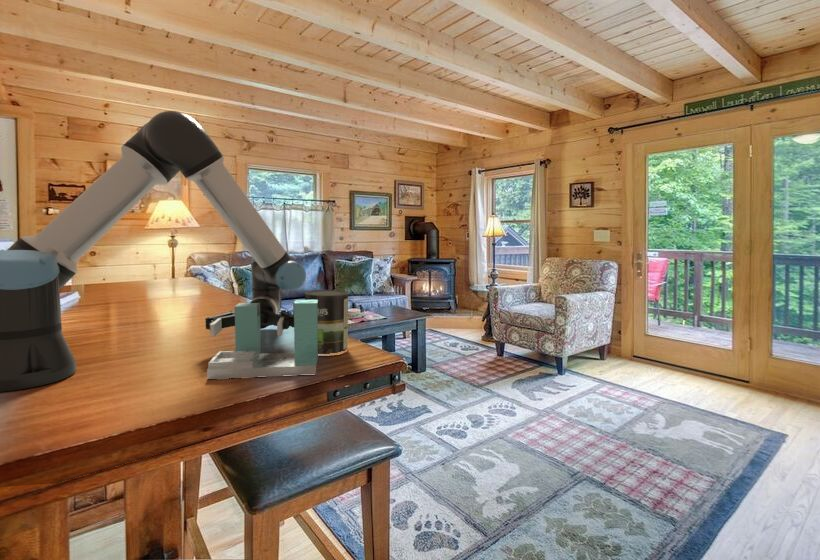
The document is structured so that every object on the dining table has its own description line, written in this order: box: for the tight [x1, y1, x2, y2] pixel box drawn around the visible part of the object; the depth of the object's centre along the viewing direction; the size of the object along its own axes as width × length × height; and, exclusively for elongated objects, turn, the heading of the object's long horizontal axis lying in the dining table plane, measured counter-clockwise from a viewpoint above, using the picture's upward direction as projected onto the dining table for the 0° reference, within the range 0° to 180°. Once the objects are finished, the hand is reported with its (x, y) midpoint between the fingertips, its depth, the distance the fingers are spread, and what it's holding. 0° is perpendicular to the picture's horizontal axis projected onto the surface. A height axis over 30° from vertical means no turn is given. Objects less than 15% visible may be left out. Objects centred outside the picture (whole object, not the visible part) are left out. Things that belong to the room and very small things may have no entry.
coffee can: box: [303, 289, 350, 354], centre depth 102 cm, size 10×10×14 cm
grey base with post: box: [206, 299, 319, 380], centre depth 87 cm, size 20×10×14 cm, turn 101°
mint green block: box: [234, 302, 262, 354], centre depth 95 cm, size 4×4×12 cm
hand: (246, 330), depth 93 cm, fingers open, 13 cm apart
